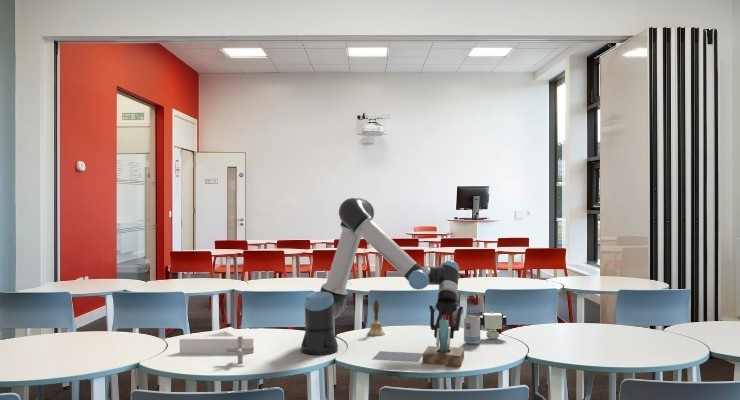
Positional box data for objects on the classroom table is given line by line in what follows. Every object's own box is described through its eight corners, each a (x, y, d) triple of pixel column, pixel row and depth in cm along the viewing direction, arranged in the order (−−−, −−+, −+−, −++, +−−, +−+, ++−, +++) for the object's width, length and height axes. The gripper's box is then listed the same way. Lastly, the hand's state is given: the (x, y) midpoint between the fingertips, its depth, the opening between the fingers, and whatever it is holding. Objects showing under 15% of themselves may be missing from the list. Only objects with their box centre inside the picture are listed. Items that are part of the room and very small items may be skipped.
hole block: (422, 364, 236) (422, 354, 236) (428, 356, 250) (428, 346, 250) (460, 366, 233) (460, 356, 233) (464, 358, 247) (463, 347, 247)
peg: (439, 352, 240) (438, 321, 240) (440, 350, 244) (439, 319, 244) (448, 353, 239) (447, 321, 239) (449, 351, 243) (449, 319, 243)
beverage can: (483, 344, 271) (483, 316, 271) (469, 345, 268) (469, 317, 268) (474, 341, 277) (474, 313, 277) (461, 342, 274) (460, 314, 275)
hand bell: (388, 333, 295) (388, 299, 295) (378, 336, 288) (378, 301, 288) (373, 331, 300) (373, 298, 300) (363, 334, 293) (363, 300, 293)
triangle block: (179, 354, 258) (179, 339, 258) (197, 341, 284) (197, 327, 284) (253, 354, 258) (253, 338, 258) (264, 340, 284) (264, 326, 284)
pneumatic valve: (506, 339, 280) (506, 312, 280) (480, 339, 281) (479, 312, 281) (504, 337, 286) (504, 310, 286) (478, 336, 286) (478, 310, 286)
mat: (371, 360, 243) (371, 359, 243) (379, 352, 257) (379, 351, 257) (418, 363, 239) (418, 361, 239) (423, 354, 252) (423, 353, 252)
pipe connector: (228, 360, 245) (228, 334, 246) (255, 359, 246) (254, 333, 246) (224, 366, 235) (224, 339, 236) (252, 366, 236) (251, 339, 236)
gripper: (469, 300, 255) (465, 351, 238) (428, 299, 259) (422, 349, 242) (467, 289, 249) (464, 340, 233) (426, 288, 253) (419, 338, 237)
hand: (442, 344), depth 238 cm, fingers closed on peg, 3 cm apart
